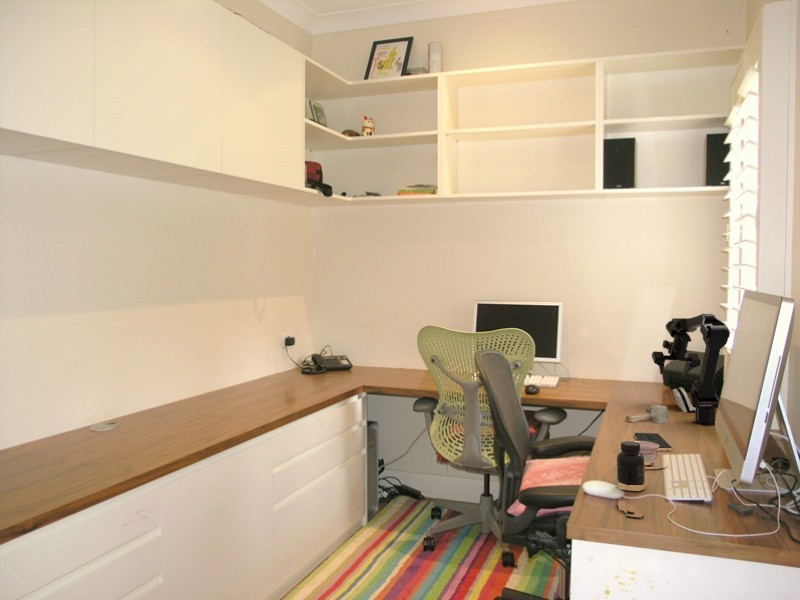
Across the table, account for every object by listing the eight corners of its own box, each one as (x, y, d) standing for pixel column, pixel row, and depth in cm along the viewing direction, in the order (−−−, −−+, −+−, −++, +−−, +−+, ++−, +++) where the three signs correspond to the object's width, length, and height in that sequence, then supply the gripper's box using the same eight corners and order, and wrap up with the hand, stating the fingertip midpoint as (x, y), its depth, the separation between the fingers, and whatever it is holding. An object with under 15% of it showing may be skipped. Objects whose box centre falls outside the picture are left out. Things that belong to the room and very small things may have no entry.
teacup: (615, 462, 193) (615, 441, 193) (645, 457, 198) (645, 437, 198) (645, 473, 182) (645, 451, 182) (676, 467, 187) (676, 446, 187)
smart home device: (658, 432, 224) (673, 447, 204) (658, 437, 224) (673, 453, 204) (633, 432, 225) (645, 446, 205) (633, 437, 225) (645, 452, 205)
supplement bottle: (638, 484, 172) (638, 439, 171) (649, 492, 165) (649, 446, 164) (613, 484, 171) (613, 440, 171) (622, 493, 164) (622, 446, 164)
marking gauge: (667, 422, 246) (667, 406, 246) (658, 423, 244) (658, 407, 244) (651, 418, 254) (651, 403, 254) (643, 418, 252) (643, 403, 252)
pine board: (658, 419, 250) (658, 414, 250) (631, 422, 246) (631, 417, 245) (651, 418, 253) (652, 413, 253) (625, 420, 249) (625, 415, 249)
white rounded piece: (697, 412, 263) (688, 389, 263) (685, 416, 264) (676, 393, 265) (689, 405, 279) (681, 383, 280) (678, 408, 280) (670, 386, 281)
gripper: (697, 335, 271) (689, 364, 279) (652, 332, 273) (645, 362, 281) (705, 350, 262) (696, 380, 270) (658, 347, 263) (651, 377, 271)
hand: (671, 374), depth 273 cm, fingers open, 9 cm apart
